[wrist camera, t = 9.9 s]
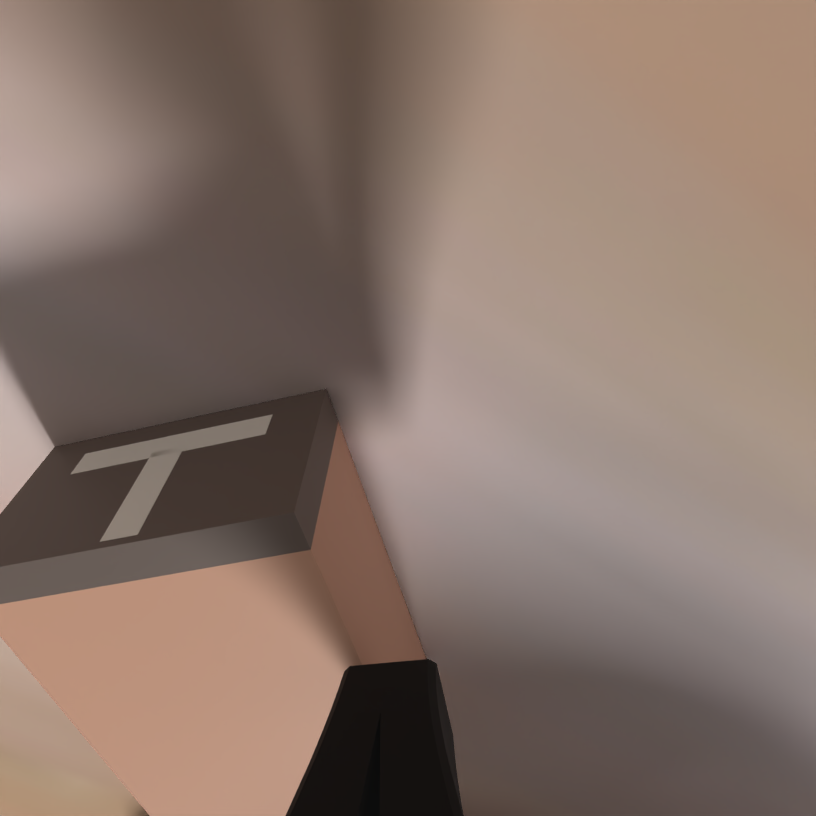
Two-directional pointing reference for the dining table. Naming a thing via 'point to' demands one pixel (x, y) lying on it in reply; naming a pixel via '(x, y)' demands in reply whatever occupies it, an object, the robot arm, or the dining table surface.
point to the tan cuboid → (202, 599)
